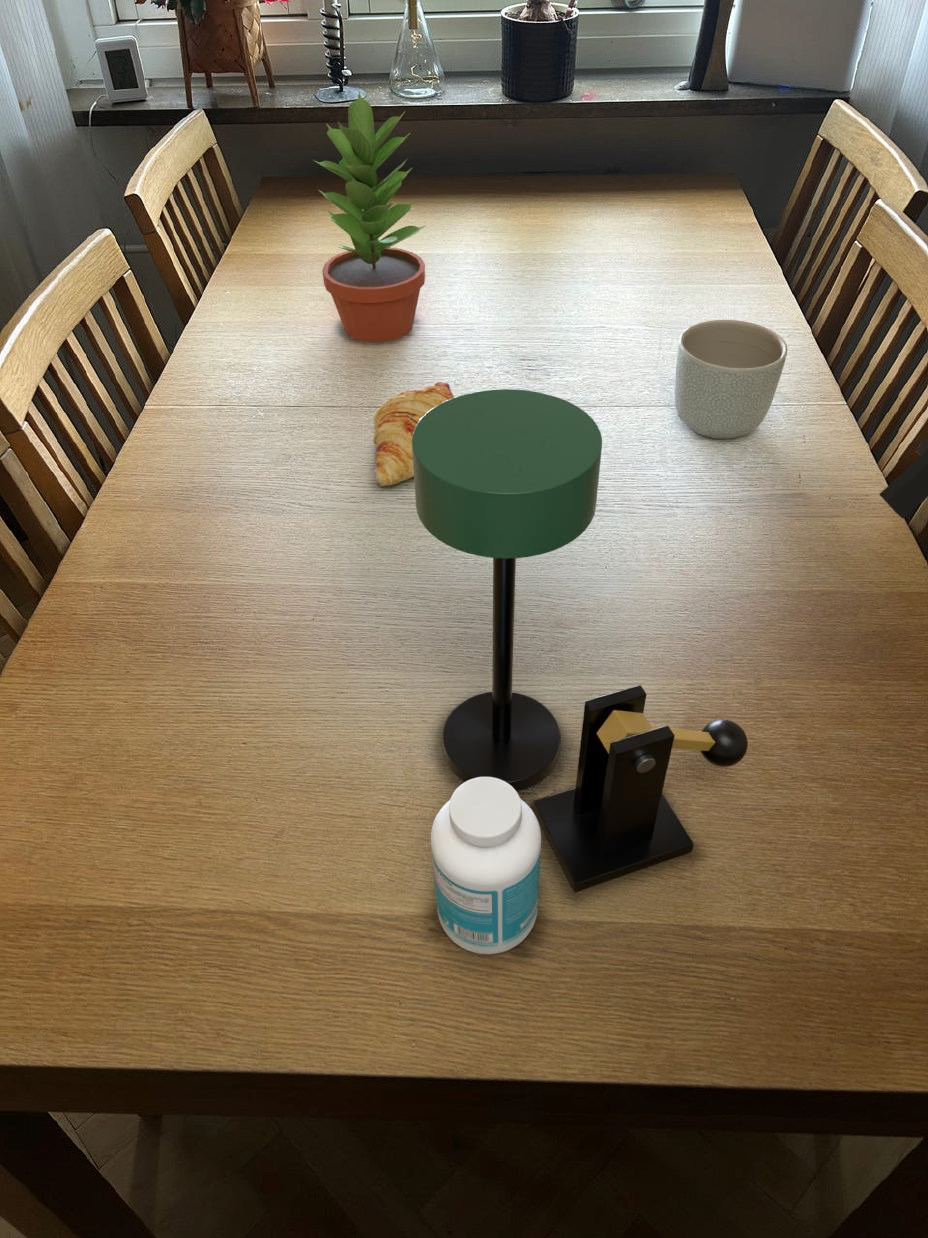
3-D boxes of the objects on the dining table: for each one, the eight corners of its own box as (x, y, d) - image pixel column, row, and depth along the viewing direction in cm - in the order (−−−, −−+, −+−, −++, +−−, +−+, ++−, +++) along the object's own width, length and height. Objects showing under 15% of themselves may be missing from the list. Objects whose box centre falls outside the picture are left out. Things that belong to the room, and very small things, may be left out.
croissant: (408, 522, 108) (435, 478, 102) (333, 477, 107) (356, 429, 101) (463, 424, 122) (490, 381, 117) (398, 383, 121) (422, 337, 115)
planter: (777, 451, 112) (799, 369, 104) (674, 451, 112) (688, 369, 104) (756, 397, 121) (774, 318, 113) (660, 398, 121) (672, 319, 113)
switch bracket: (643, 774, 78) (665, 660, 68) (691, 852, 72) (723, 740, 63) (532, 809, 75) (539, 696, 66) (574, 893, 70) (588, 782, 60)
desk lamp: (594, 778, 77) (636, 468, 56) (459, 821, 75) (447, 511, 53) (538, 679, 86) (555, 375, 64) (413, 714, 83) (388, 408, 61)
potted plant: (350, 360, 130) (325, 126, 109) (316, 315, 140) (287, 94, 119) (447, 337, 134) (441, 108, 113) (408, 296, 144) (395, 79, 123)
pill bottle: (519, 856, 72) (523, 748, 63) (551, 943, 67) (561, 838, 58) (425, 881, 71) (416, 773, 61) (451, 971, 66) (445, 868, 56)
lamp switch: (713, 743, 74) (739, 711, 72) (737, 777, 71) (765, 745, 70) (587, 731, 67) (613, 696, 65) (609, 769, 64) (637, 733, 62)
